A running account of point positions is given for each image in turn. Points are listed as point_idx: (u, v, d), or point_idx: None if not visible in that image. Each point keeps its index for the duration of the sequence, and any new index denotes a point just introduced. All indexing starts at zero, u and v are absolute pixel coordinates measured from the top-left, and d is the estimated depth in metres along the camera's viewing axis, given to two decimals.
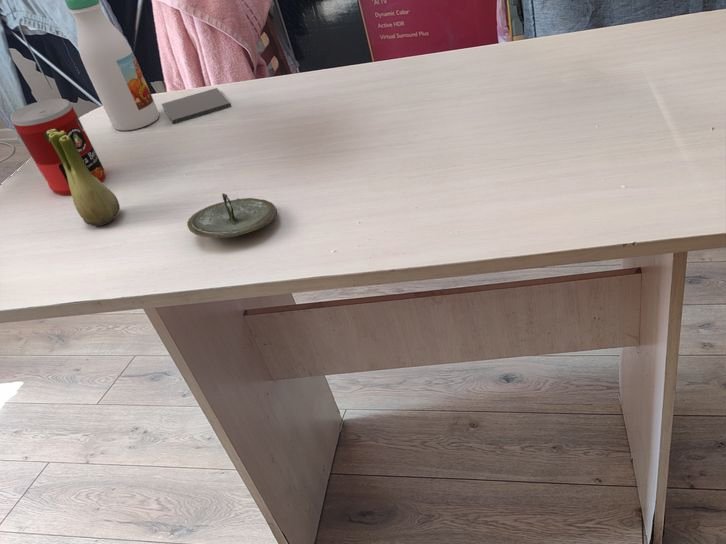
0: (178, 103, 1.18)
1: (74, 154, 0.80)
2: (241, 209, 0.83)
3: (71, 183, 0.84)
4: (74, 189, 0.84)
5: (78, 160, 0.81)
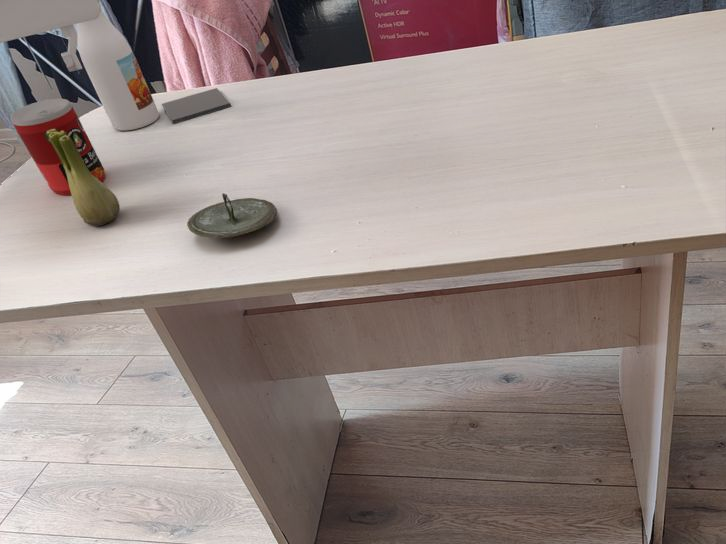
0: (178, 103, 1.18)
1: (74, 154, 0.80)
2: (241, 209, 0.83)
3: (70, 183, 0.84)
4: (74, 189, 0.84)
5: (78, 160, 0.81)
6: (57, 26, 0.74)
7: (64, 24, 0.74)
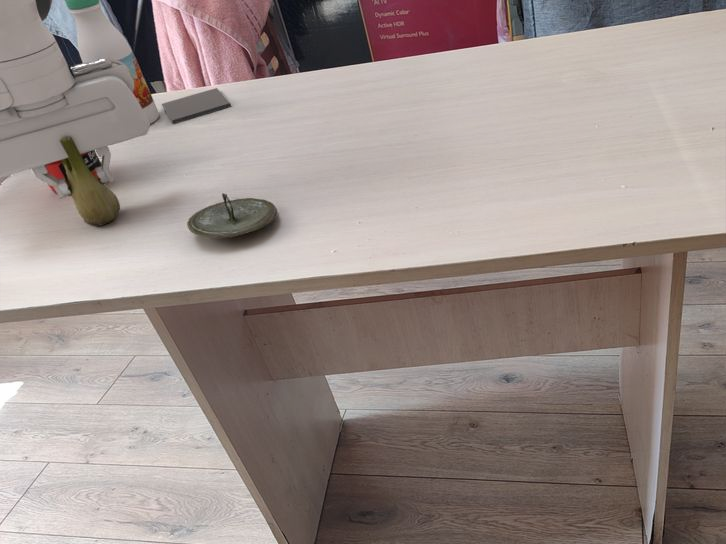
0: (178, 103, 1.18)
1: (75, 154, 0.80)
2: (241, 209, 0.83)
3: (71, 183, 0.84)
4: (74, 189, 0.84)
5: (79, 160, 0.81)
6: (111, 143, 0.82)
7: (117, 141, 0.83)
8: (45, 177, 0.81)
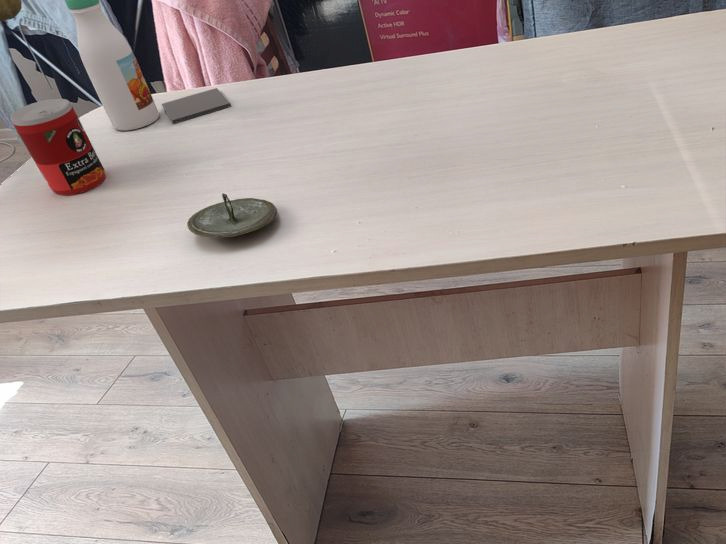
0: (178, 103, 1.18)
1: None
2: (241, 209, 0.83)
3: None
4: None
5: None
6: None
7: None
8: None
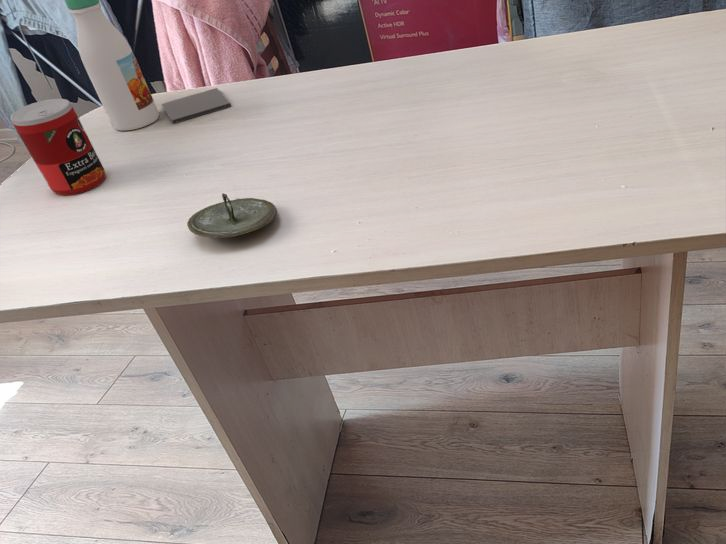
0: (178, 103, 1.18)
1: None
2: (241, 209, 0.83)
3: None
4: None
5: None
6: None
7: None
8: None
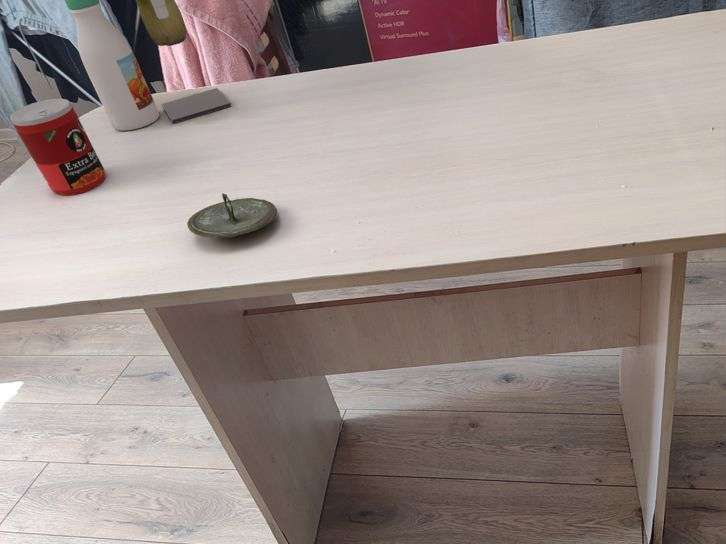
0: (178, 103, 1.18)
1: None
2: (241, 209, 0.83)
3: None
4: None
5: None
6: None
7: None
8: None
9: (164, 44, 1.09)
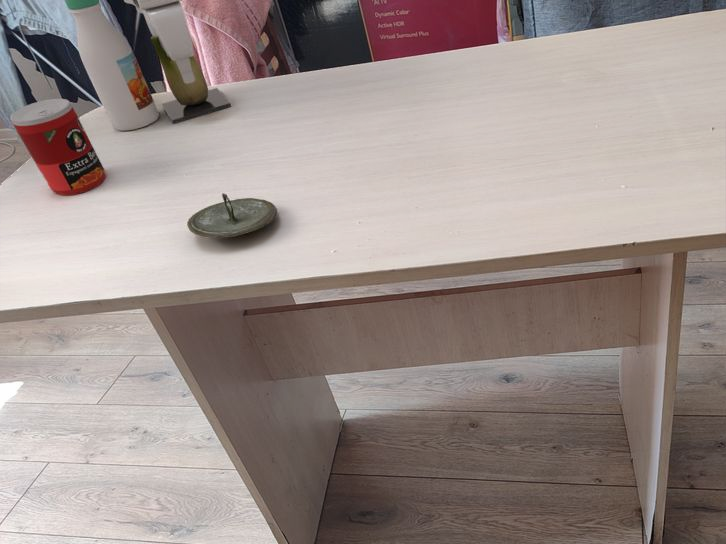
0: (178, 103, 1.18)
1: None
2: (241, 209, 0.83)
3: None
4: None
5: None
6: None
7: None
8: (189, 62, 1.08)
9: (187, 104, 1.15)
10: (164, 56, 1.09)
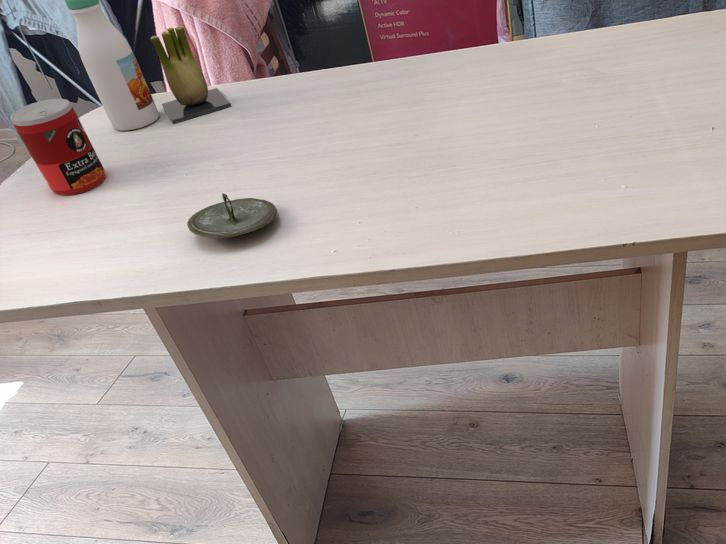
0: (178, 103, 1.18)
1: None
2: (241, 209, 0.83)
3: (185, 70, 1.12)
4: (190, 72, 1.13)
5: None
6: None
7: None
8: None
9: (187, 104, 1.15)
10: (164, 56, 1.09)
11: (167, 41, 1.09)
